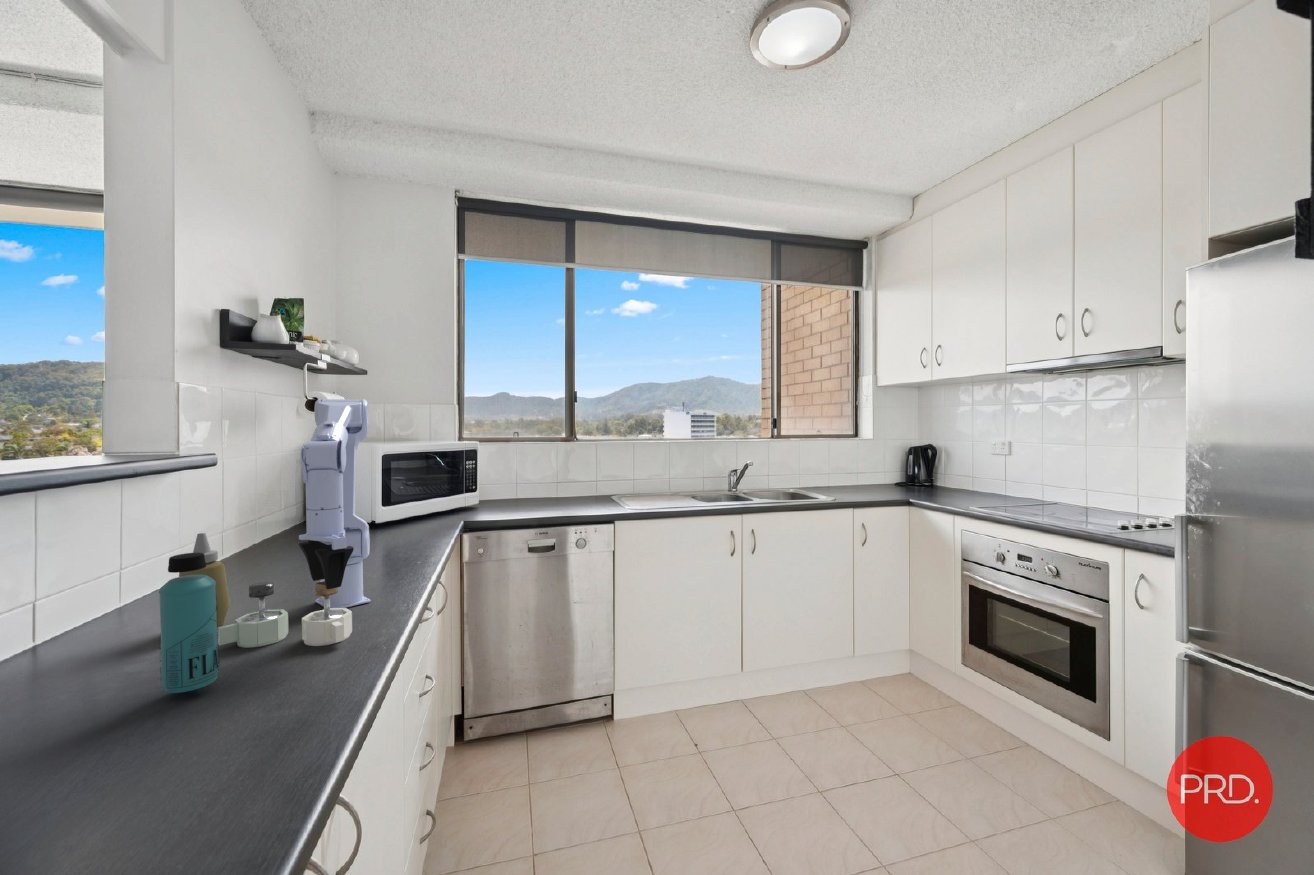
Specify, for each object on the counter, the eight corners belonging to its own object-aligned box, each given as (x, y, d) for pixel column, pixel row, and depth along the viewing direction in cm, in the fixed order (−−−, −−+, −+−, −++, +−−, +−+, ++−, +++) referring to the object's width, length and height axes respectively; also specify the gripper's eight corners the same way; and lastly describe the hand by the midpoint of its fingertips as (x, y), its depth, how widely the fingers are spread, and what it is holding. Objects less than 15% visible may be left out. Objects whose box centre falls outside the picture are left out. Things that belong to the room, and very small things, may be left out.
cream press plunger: (307, 619, 99) (306, 583, 99) (337, 612, 103) (337, 577, 102) (316, 626, 96) (315, 589, 95) (347, 618, 99) (346, 582, 99)
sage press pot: (280, 629, 104) (280, 606, 104) (292, 638, 99) (291, 615, 99) (214, 644, 96) (214, 620, 96) (223, 656, 92) (222, 631, 92)
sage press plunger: (241, 621, 98) (240, 585, 98) (275, 613, 102) (274, 579, 102) (248, 628, 95) (247, 590, 95) (282, 620, 99) (281, 584, 99)
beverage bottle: (186, 706, 75) (182, 560, 75) (147, 702, 76) (143, 558, 76) (231, 684, 82) (228, 549, 81) (195, 680, 83) (192, 548, 82)
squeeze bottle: (241, 621, 108) (239, 529, 107) (203, 637, 100) (201, 538, 99) (203, 620, 109) (201, 529, 108) (163, 636, 101) (160, 537, 100)
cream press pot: (298, 638, 99) (298, 615, 99) (342, 627, 104) (342, 605, 104) (316, 653, 92) (315, 628, 92) (362, 641, 98) (361, 617, 98)
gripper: (287, 506, 100) (288, 580, 101) (312, 514, 91) (314, 597, 91) (330, 502, 106) (331, 572, 106) (358, 509, 96) (360, 587, 96)
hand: (326, 583), depth 99 cm, fingers open, 7 cm apart
